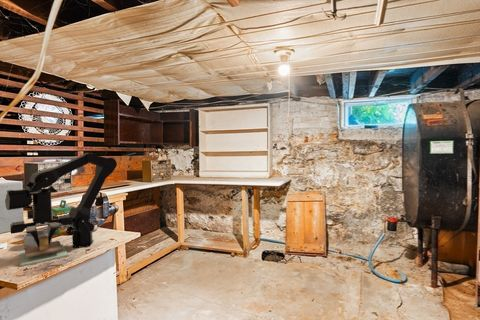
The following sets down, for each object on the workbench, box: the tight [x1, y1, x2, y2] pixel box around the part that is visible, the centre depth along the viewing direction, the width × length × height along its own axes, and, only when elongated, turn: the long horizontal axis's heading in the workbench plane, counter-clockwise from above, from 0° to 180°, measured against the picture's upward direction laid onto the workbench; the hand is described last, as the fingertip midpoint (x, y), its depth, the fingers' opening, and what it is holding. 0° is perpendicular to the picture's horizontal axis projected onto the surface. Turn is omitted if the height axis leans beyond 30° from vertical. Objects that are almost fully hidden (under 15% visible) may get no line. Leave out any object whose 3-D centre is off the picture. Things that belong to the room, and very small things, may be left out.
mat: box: [19, 243, 69, 268], centre depth 103 cm, size 14×14×1 cm
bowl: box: [23, 229, 53, 248], centre depth 115 cm, size 9×9×4 cm
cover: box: [24, 235, 63, 258], centre depth 103 cm, size 11×11×5 cm
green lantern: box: [47, 199, 74, 235], centre depth 133 cm, size 9×9×15 cm
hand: (43, 245), depth 103 cm, fingers closed on cover, 3 cm apart
